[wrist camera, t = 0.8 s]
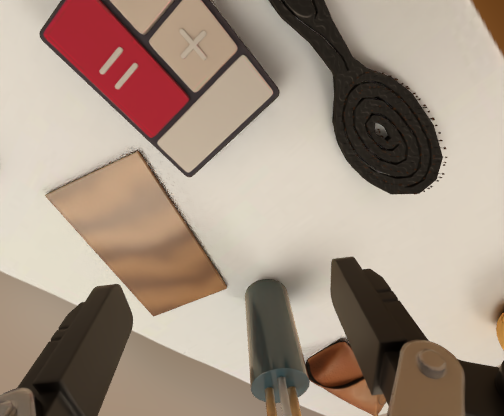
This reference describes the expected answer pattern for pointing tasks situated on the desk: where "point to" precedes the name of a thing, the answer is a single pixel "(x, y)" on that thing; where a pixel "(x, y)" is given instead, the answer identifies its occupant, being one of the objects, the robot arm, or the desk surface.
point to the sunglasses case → (343, 377)
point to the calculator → (165, 70)
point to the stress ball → (500, 330)
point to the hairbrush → (370, 109)
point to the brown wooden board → (139, 234)
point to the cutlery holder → (274, 348)
